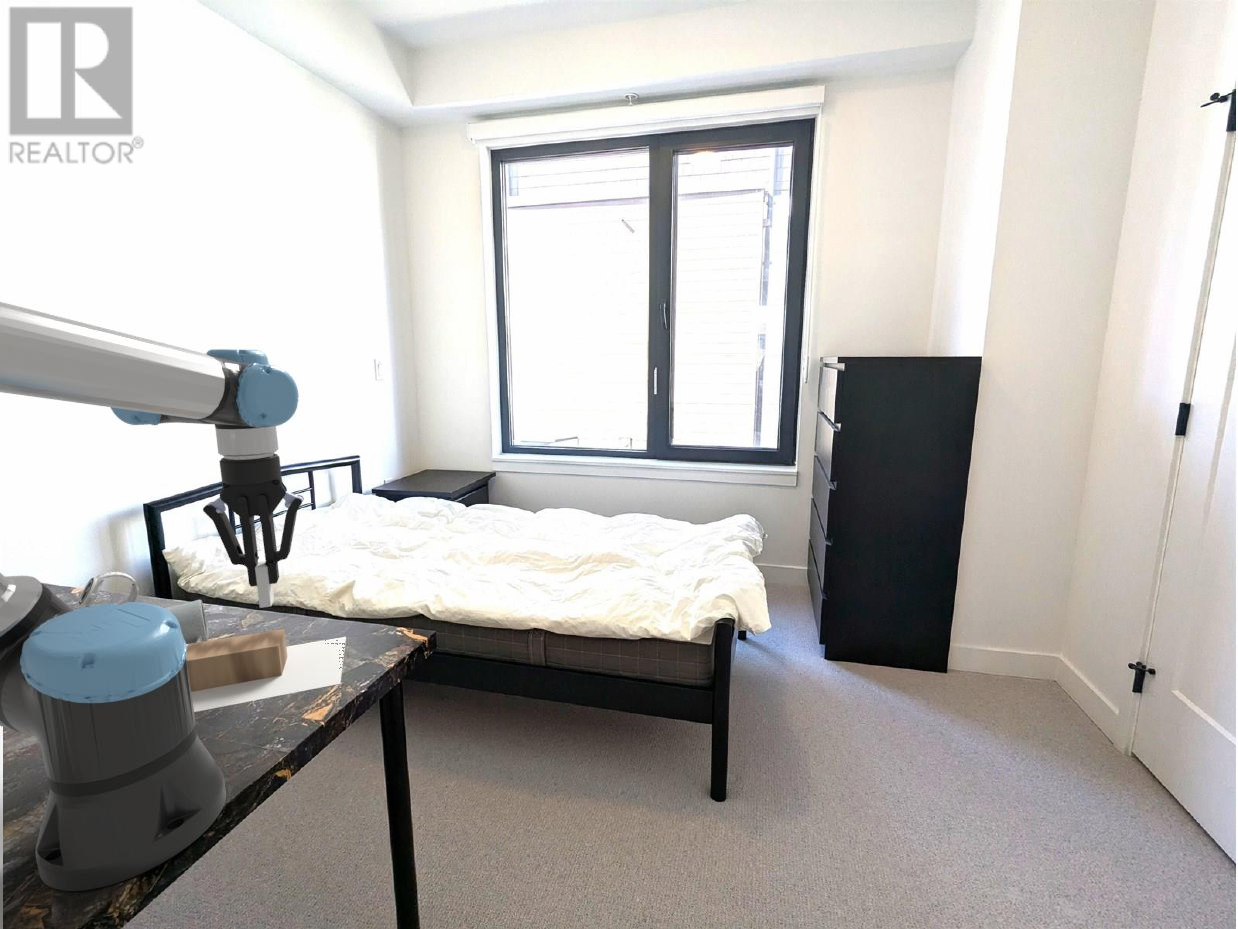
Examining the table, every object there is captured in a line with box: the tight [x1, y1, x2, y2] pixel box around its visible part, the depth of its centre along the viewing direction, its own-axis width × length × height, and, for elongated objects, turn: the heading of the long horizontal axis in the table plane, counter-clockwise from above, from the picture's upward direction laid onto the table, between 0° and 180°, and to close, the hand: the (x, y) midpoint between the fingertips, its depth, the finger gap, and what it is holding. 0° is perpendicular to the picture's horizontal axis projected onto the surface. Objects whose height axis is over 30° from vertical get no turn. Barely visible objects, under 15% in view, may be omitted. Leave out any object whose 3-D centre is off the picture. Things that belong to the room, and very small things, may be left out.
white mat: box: [191, 636, 347, 713], centre depth 89 cm, size 16×22×1 cm
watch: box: [78, 571, 140, 608], centre depth 102 cm, size 6×8×11 cm
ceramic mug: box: [165, 599, 210, 644], centre depth 95 cm, size 11×8×8 cm
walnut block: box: [186, 628, 287, 692], centre depth 87 cm, size 6×5×14 cm
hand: (267, 603), depth 88 cm, fingers closed
